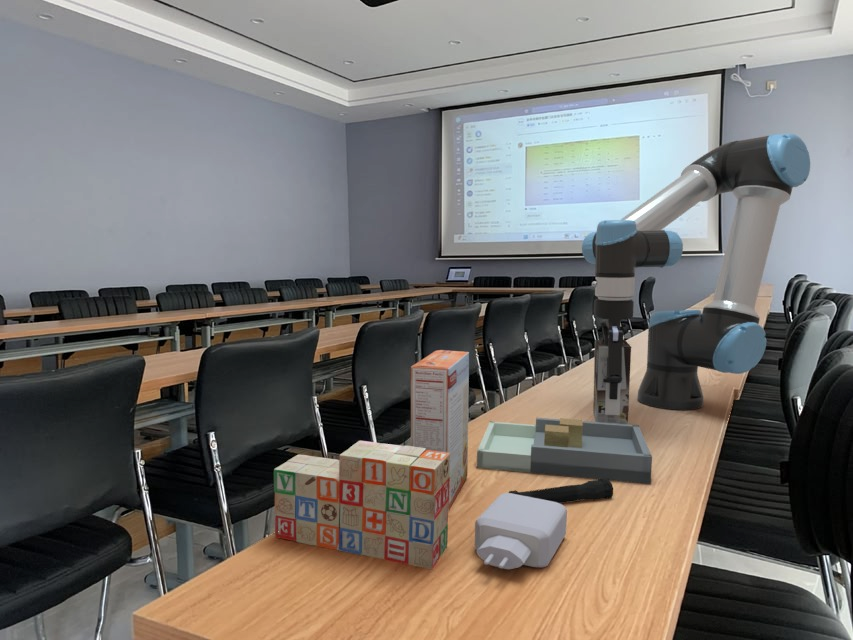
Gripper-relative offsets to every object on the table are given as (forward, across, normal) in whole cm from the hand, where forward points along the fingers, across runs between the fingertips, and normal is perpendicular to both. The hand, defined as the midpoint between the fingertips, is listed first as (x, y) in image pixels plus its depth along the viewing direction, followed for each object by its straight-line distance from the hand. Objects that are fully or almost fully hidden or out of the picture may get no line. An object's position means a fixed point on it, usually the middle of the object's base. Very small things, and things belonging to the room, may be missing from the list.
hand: (610, 407), depth 125 cm
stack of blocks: (+4, +58, -34) cm, 67 cm away
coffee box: (+3, 0, 0) cm, 3 cm away
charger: (+4, +56, -15) cm, 58 cm away
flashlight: (+5, +39, -10) cm, 40 cm away
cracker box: (+4, +40, -28) cm, 48 cm away
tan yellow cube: (+3, +21, -11) cm, 24 cm away
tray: (+4, +18, -19) cm, 27 cm away
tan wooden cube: (+3, +16, -8) cm, 18 cm away
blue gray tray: (+5, +18, -5) cm, 20 cm away
